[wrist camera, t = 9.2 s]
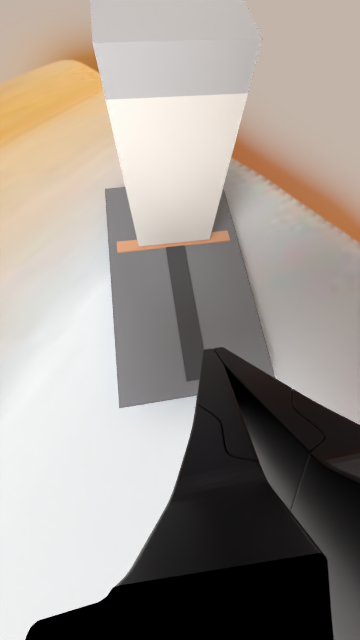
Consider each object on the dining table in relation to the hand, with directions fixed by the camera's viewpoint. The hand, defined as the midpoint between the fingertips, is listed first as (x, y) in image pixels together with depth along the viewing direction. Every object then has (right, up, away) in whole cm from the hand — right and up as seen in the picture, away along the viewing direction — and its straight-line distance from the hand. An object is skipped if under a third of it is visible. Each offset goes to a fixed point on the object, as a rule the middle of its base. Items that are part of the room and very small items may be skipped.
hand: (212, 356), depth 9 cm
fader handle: (-2, +9, +9) cm, 13 cm away
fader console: (-2, +5, +10) cm, 11 cm away
